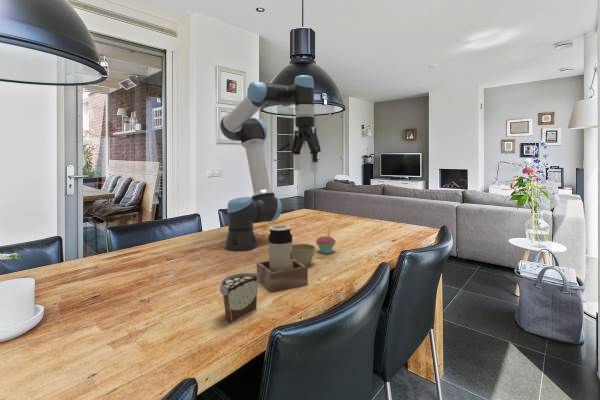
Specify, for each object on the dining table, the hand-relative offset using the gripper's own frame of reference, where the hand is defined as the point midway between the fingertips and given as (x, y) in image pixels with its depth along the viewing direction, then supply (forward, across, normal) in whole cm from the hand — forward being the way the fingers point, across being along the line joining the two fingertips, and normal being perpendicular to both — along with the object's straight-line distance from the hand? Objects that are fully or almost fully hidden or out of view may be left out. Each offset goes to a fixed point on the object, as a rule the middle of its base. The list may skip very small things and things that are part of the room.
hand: (305, 170), depth 134 cm
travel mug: (+36, +19, -20) cm, 45 cm away
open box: (+37, +19, -20) cm, 46 cm away
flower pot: (+37, +6, -5) cm, 38 cm away
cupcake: (+37, -4, +12) cm, 39 cm away
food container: (+37, +34, -40) cm, 64 cm away
